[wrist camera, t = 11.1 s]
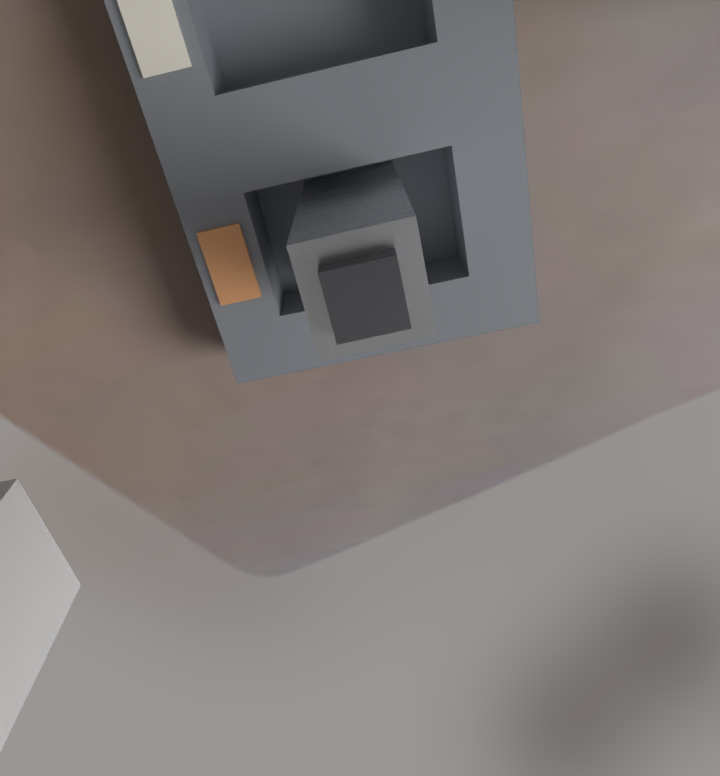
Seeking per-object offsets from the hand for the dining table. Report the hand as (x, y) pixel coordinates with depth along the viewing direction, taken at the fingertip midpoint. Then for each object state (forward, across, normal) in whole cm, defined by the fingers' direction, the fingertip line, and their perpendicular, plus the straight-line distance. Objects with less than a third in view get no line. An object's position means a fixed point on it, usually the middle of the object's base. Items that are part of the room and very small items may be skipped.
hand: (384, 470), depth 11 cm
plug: (+20, 0, 0) cm, 20 cm away
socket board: (+20, 0, +4) cm, 21 cm away
